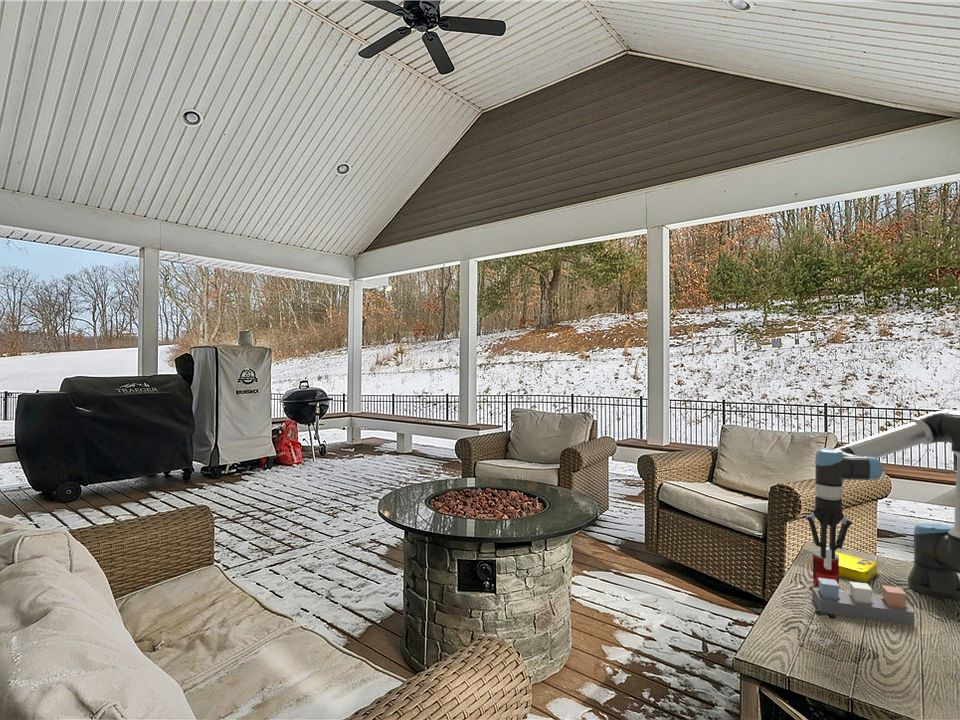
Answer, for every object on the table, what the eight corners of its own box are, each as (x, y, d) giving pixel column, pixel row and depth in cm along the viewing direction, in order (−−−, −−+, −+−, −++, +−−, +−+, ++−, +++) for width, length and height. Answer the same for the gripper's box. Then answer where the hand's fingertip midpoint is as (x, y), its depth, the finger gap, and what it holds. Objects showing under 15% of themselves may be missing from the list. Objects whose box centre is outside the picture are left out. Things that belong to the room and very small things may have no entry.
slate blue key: (835, 594, 177) (835, 579, 177) (839, 601, 172) (839, 585, 172) (817, 592, 178) (817, 577, 178) (821, 598, 174) (821, 583, 174)
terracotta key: (900, 602, 171) (900, 587, 170) (906, 610, 166) (906, 594, 166) (881, 600, 172) (881, 585, 172) (887, 607, 168) (887, 591, 167)
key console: (900, 610, 173) (900, 598, 173) (914, 625, 163) (914, 612, 163) (812, 599, 181) (812, 587, 181) (820, 612, 172) (820, 600, 172)
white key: (867, 598, 174) (867, 583, 174) (872, 605, 169) (872, 590, 169) (849, 596, 175) (849, 581, 175) (854, 603, 171) (854, 587, 171)
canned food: (844, 588, 189) (844, 558, 189) (821, 588, 189) (821, 558, 189) (830, 579, 196) (830, 550, 196) (808, 579, 197) (808, 550, 196)
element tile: (834, 561, 214) (834, 549, 214) (878, 573, 203) (879, 561, 203) (820, 571, 205) (820, 559, 205) (866, 584, 193) (866, 571, 193)
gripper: (848, 496, 176) (847, 566, 176) (803, 492, 181) (802, 561, 181) (855, 502, 169) (854, 575, 169) (808, 497, 173) (807, 569, 174)
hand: (827, 567), depth 175 cm, fingers closed
